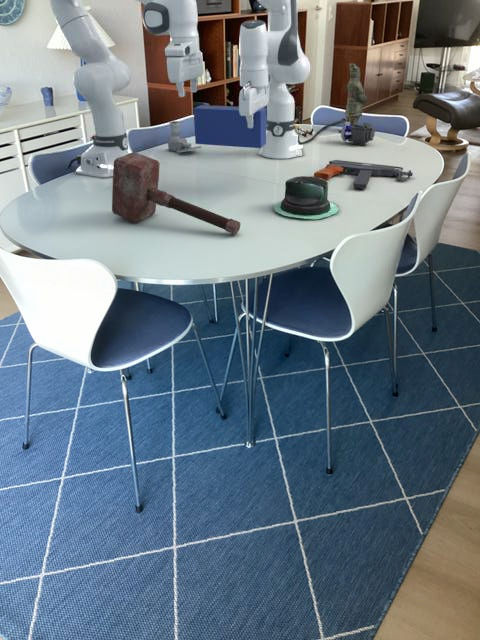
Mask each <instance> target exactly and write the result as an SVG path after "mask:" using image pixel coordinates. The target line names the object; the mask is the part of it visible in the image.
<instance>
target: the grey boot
mask: <svg viewBox="0 0 480 640" xmlns="http://www.w3.org/2000/svg"><path fill="white" fill-rule="evenodd" d="M180 128H181V126H180V121H178V120H173V121H172V120H171V121H169V129H170V137H167V146H168V148H167V149H168V151H171V152H174V153H175V152H176V154H181V153H187V152H190V151H194V150H197V149H201V148H203V147H202V145H199V146H194V147H193V146H192V143H190V142H188V139H186V138H182V137H180V136H181V135H180Z"/></svg>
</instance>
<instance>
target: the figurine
mask: <svg viewBox="0 0 480 640" xmlns="http://www.w3.org/2000/svg"><path fill="white" fill-rule="evenodd" d="M297 122H299V118H296V119H295V123H297ZM295 132H296V133H297V135H298V136H302V137H304V138H307V136H308V135H309V136H313V132H314V128H311V130H309V131H308V129H304V128H302V127H300V126H299V125H298V126H297V125H295Z"/></svg>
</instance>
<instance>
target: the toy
mask: <svg viewBox="0 0 480 640" xmlns="http://www.w3.org/2000/svg"><path fill="white" fill-rule="evenodd" d="M357 124H358V123H357ZM357 124H355V125H354V127H352V124H350V122H346V121H345V122H344V123H343V126H342V128H341V129H339V130H338V134H340V137H341V139H342V141H343V142H346V141H348V142H349V143H352V145H358V146H359V145H360V146H366V144H367V143H369V142H373V140H374V138H375V133H376V129H375V127H374V126H372V123H370V122H363V124H358V125H357Z"/></svg>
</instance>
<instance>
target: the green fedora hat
mask: <svg viewBox="0 0 480 640" xmlns="http://www.w3.org/2000/svg"><path fill="white" fill-rule="evenodd" d="M284 184H285V185H284V187H285V190H284V198H283V199H282V200H281V201H278V202H276V203H275V204H274V205H273V210H274V212H275V213H277V214H280V215H282V216H285V217H289V218H298V219H304V220H320V219H323V218H328V217H330V216H332V215H335V214H337V212H338V210H339V208H338V206H337V204H334V203H333V202H331V201H329V200H328V195H329V182H328V181H327V180H324V179H322V178H317V177H314V176H309V175H308V176H307V175H306V176H305V175H302V176H295V177H292V178H289V179H287V180H285V183H284Z"/></svg>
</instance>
